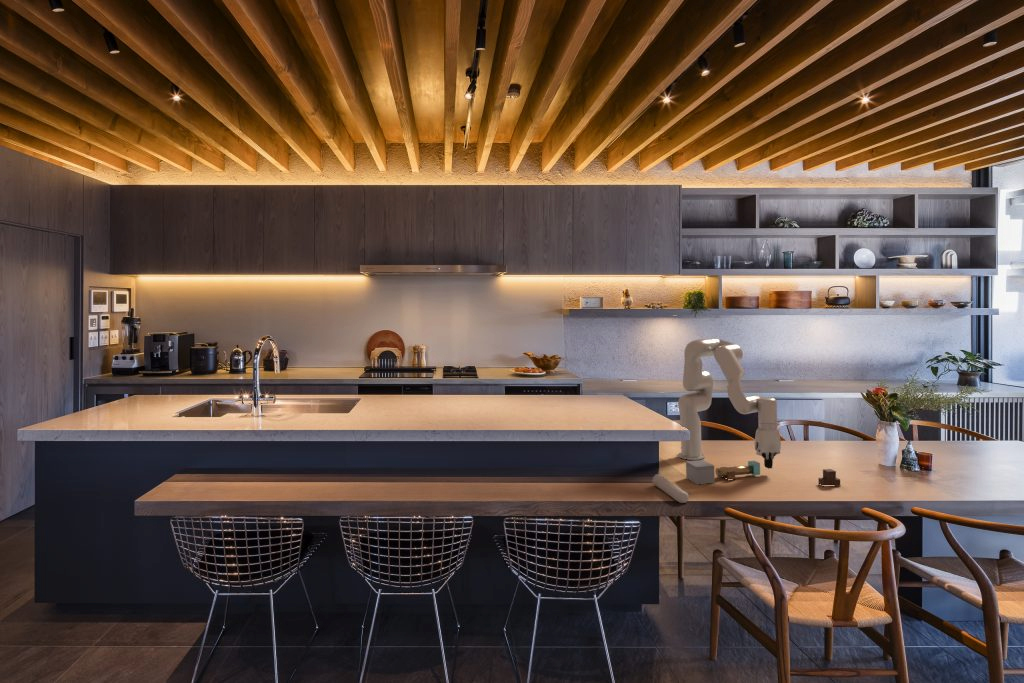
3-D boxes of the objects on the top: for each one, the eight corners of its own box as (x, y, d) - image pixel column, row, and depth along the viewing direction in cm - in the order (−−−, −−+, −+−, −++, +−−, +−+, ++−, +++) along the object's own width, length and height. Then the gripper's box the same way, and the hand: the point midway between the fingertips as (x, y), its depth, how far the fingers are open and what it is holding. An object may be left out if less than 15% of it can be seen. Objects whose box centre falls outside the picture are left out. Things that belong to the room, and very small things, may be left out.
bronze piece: (715, 475, 264) (714, 463, 264) (754, 471, 267) (754, 460, 267) (720, 478, 260) (719, 466, 260) (760, 474, 263) (759, 463, 262)
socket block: (686, 478, 265) (685, 461, 265) (703, 476, 266) (703, 459, 266) (696, 484, 255) (696, 467, 255) (714, 483, 257) (714, 465, 256)
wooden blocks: (823, 494, 239) (823, 477, 238) (804, 483, 253) (803, 467, 253) (861, 492, 239) (861, 475, 238) (839, 481, 254) (839, 465, 253)
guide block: (720, 476, 266) (719, 467, 266) (726, 475, 267) (726, 466, 266) (728, 480, 259) (728, 471, 259) (735, 480, 259) (734, 471, 259)
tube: (692, 493, 232) (665, 475, 257) (680, 490, 232) (654, 472, 256) (688, 507, 233) (662, 487, 257) (676, 503, 232) (650, 484, 256)
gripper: (778, 423, 269) (779, 464, 270) (747, 425, 267) (748, 466, 268) (788, 426, 262) (789, 468, 263) (756, 429, 260) (757, 471, 261)
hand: (768, 467), depth 266 cm, fingers closed
